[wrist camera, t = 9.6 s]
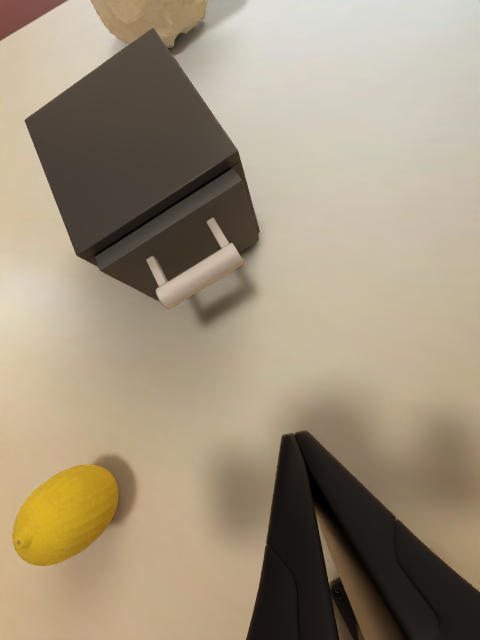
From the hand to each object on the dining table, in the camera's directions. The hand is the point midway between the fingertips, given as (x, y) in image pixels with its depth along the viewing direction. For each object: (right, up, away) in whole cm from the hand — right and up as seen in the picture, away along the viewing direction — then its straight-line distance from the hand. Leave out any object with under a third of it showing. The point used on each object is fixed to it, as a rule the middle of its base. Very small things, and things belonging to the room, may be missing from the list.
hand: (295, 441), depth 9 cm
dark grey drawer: (-7, +12, +17) cm, 22 cm away
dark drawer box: (-8, +15, +19) cm, 25 cm away
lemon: (-13, -11, +15) cm, 23 cm away
